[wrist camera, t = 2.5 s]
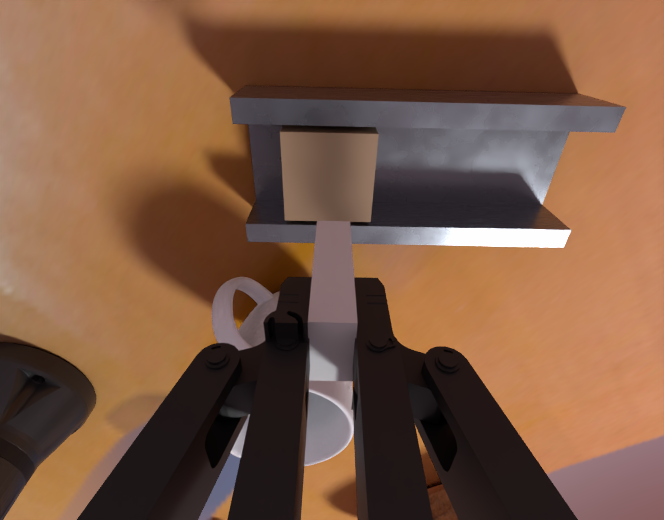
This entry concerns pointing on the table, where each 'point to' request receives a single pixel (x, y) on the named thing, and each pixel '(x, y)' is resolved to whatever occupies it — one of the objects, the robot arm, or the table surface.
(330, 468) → the table surface
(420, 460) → the robot arm
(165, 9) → the table surface
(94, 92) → the table surface
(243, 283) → the mug
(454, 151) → the chute
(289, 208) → the block
